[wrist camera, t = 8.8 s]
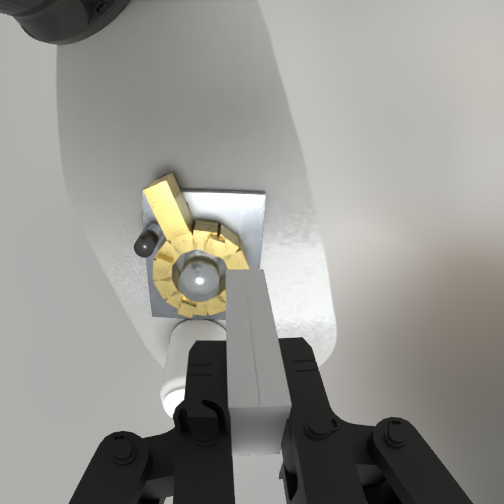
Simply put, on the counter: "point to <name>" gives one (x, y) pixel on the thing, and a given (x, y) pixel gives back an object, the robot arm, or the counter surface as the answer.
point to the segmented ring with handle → (188, 247)
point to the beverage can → (183, 358)
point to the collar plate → (215, 211)
